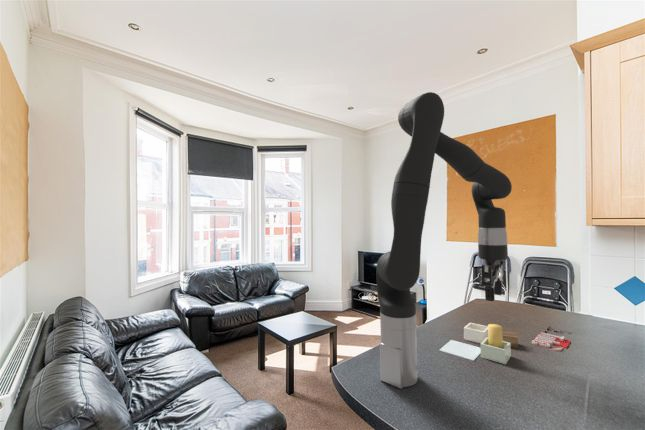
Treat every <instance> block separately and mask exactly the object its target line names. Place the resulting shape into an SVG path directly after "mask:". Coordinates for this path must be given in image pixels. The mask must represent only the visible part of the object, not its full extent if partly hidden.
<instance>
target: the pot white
mask: <svg viewBox="0 0 645 430" xmlns="http://www.w3.org/2000/svg"><path fill="white" fill-rule="evenodd" d="M486 337H488V325H483V324H479V323H473V322H469V323H468V324H466V325H465V326H464V327H463V340H466V341H469V342H474V343H475V344H481V343H482V342H483V341H484V339H485V338H486Z"/></svg>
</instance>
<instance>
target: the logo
mask: <svg viewBox="0 0 645 430" xmlns="http://www.w3.org/2000/svg"><path fill="white" fill-rule="evenodd" d="M549 327H550V325H548V327H546V329H544V331H542V332H540V333H538V334H537V335H536V336H535V337H534V338H535V339H534V338H533V339H534V340H533V339H532V340H531V344H532V345H535V346H538V344H539V347H542V348H547V349H548V348H549V350H550V351H554V352H555V351H556V352H561V351H563V350H564V349H567V348H568V347H569V346H570V344H571V340H569V339H567V338H566V337H565V336H558V335H554V334H550V333H545V331H547V329H551V331H554V333H557V332H558V333H557V334H562V332H564V333H565V331H563V330H554V329H553V328H551V327H550V328H549ZM559 331H560V332H559ZM547 332H548V331H547ZM569 333H570V335H571V334H572V332H569ZM564 341H565V342H564ZM551 346H554V347H557V348H551ZM560 346H561V347H560Z"/></svg>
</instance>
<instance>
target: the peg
mask: <svg viewBox="0 0 645 430" xmlns="http://www.w3.org/2000/svg"><path fill="white" fill-rule="evenodd" d="M487 326H488V343H489V345H490V346H494V347H498V348H501V349H503V342H502V331H503V326H501V325H500V324H496V323H489V324H487Z"/></svg>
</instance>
